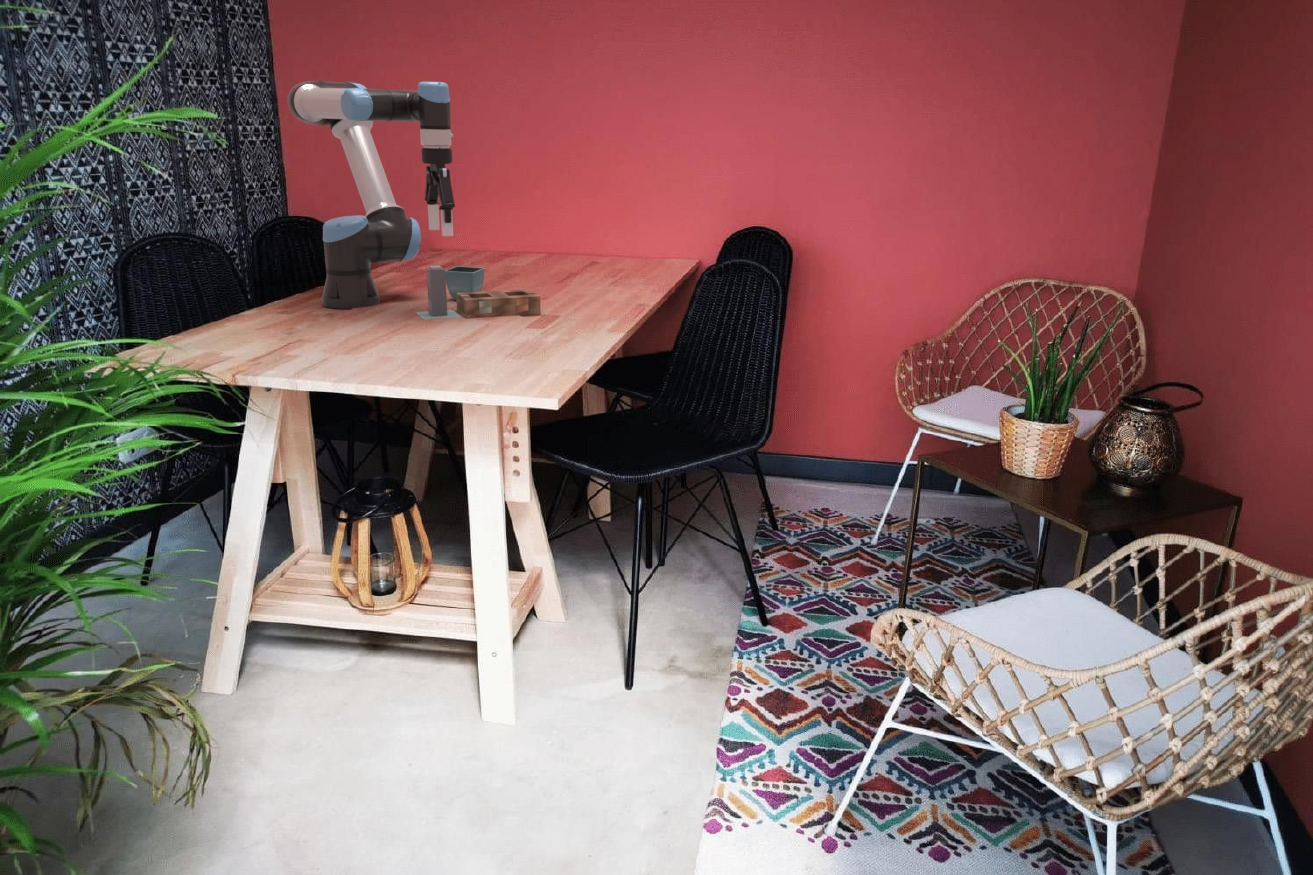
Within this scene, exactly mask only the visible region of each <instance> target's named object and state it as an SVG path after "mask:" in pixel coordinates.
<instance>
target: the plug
mask: <svg viewBox="0 0 1313 875" xmlns="http://www.w3.org/2000/svg"><path fill="white" fill-rule="evenodd" d="M445 270H446V269H445V268H444V267H442V266H441V265H430V266H429V267H426V282H427V283H426V285H427V304H428V311H429V314H430V315H431V316H447V310H448V300H447V299H448V298H447V282H446V275H445Z"/></svg>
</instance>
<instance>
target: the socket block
mask: <svg viewBox="0 0 1313 875" xmlns="http://www.w3.org/2000/svg"><path fill="white" fill-rule="evenodd" d="M455 301H456V311H457V312H459V313H460V314H461V316H463V317H465V318H466V319H475V318H487V317H488V318H490V317H504V316H505V317H506V316H520V317H523V316H525V317H526V316H540V315H541V313H542V312H541V295H539V294H538V293H535V292H534V291H532V290H530V289H527V288H526V289H524V288H523V289H507V290H506V289H505V290H489V291H488V290H487V291H481V292H465V293H456V300H455Z"/></svg>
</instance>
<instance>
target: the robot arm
mask: <svg viewBox="0 0 1313 875" xmlns="http://www.w3.org/2000/svg"><path fill="white" fill-rule="evenodd" d="M449 88H450V87H449V85H448V84H447V83H446V82H443V81H420V82H418V85H417V90H415V89H414V90H410V89H379V88H377V89H376V88H367V87H366V86H365V85H363V84H361V83H355V82H352V81H351V82H350V81H344V82H341V81H339V82H338V81H337V82H336V81H323V80H322V81H321V80H319V81H317V80H307V81H302V82H299V83H297V84H295V85H294V86H292V88H291V89H290V90H289V92H288V94H287V107H288V110H289V111H290V113H291V114H292V115H293V117H294V118H295V119H297V120H298V121H299V122H302V123H305V124H307V125H313V126H329V128H330V130H331V134H332V135H333V136H334V137H335V138H336V139H339V140H340V143H341V145H342V148H343V151H344V154H345V157H346V159H347V162H348V165H349V167H350V171H351V173H352V176H353V179H354V182H355V185H356V187H357V191H358V193H359V196H360V198H361V202H362V205H363V208H364V210H365V215H361V214H359V215H358V214H357V215H344V216H340V217H334V218H331V219H328V220H327V221H325V222H324V223H323V225H322V242H323V251H324V260H325V261H324V262H325V271H326V272H325V273H326V278H325V283H324V287H323V290H322V294H321V295H322V296H321V303H322V306H323V307H326V308H331V309H344V310H347V309H348V310H350V309H357V308H359V309H361V308H366V307H367V308H368V307H372V306H376V305H379V304H381V301H380V294H379V291H378V289H377V286H376V283H375V281H374V279H373V277H372V269H371V268H372V267H371V264H381V263H383V264H384V263H395V262H403V261H410V260H413V259H414V258H415V257H416V256H417V255H418V253H419V251H420V250H421V248H420V247H421V242H422V234H421V228H420V225H419V222H418V221H417V220H416V219H415V218H414V217H411V216H410V217H408V216H407V214H406V212H405V209H404V207H402V206H400V205H398V204H397V203H396V200H395V197H394V194H393V191H392V189H391V186H390V183H389V181H388V177H387V175H386V172H385V170H384V166H383V163H382V161H381V158H380V156H379V152H378V150H377V147H376V144H375V141H374V138H373V136H372V133H371V130H372V129H373V127H374V126H373V125H374V122H406V123H407V122H408V123H409V122H410V123H413V122H417V123H418V122H419V128H420V129H419V132H420V133H419V134H420V136H419V137H420V145H421V146H423V147H422V148H421V149H420V150H421V151H420V152H421V162H422V163H423V164H429V165H426V166H425V169H426V172H425V173H426V177H425V178H426V180H425V193H424V194H425V195H424V201H425V202H426V204H427V216H428V217H427V219H428V220H427V221H428V230H429V231H440V229H441V236H442V237H454V224H453V222H454V221H453V220H454V219H453V210H454V208H455V207H456V204H455V200H454V194H453V187H452V181H451V174H450V172H451V171H450V168H446V165H451V164H452V163H453V150H452V148H450V147H451V146H452V138H453V137H454V133H452V130H451V129H452V128H451V125H452V124H451V123H452V122H451V97H450V89H449ZM439 210H440V211H439ZM440 222H441V226H440ZM440 227H441V228H440Z"/></svg>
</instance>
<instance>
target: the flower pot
mask: <svg viewBox="0 0 1313 875" xmlns="http://www.w3.org/2000/svg"><path fill="white" fill-rule="evenodd" d="M485 269H486V268H485V267H474V266H461V265H460V266H459V265H458V266H453V267H451V268H449V269H445V275H446V288H447V290H448V293H449V294H450V297H451V298H452V299H453V300H454V301H456V293H465V292H483V287H484V280H485Z"/></svg>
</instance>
